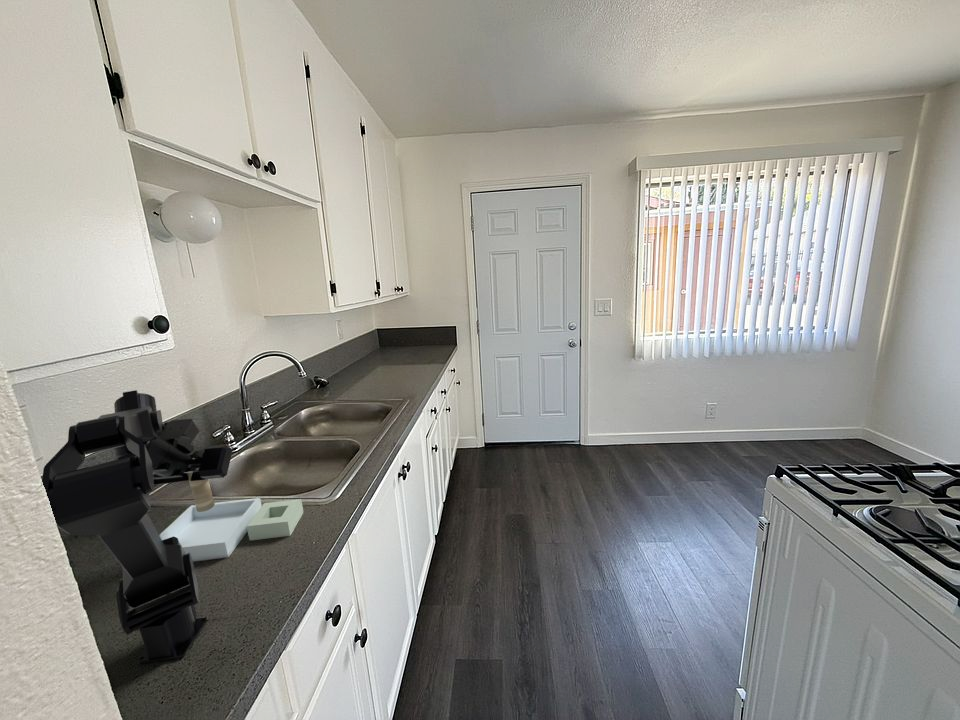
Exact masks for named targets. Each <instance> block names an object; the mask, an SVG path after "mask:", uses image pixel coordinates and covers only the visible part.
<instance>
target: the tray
mask: <svg viewBox="0 0 960 720" xmlns="http://www.w3.org/2000/svg"><path fill="white" fill-rule="evenodd" d="M214 504H215V505H214V507H212V508H211V509H209V510H207V511H203V512H197V510H196V506H195V504H194V505H193V504H191V505H190V506H188V507H187V508H186V510H185V511H183V512H182V513H181V514H179V516H178V517H177V518H176V519H175V520H174V521H173V522H172V523H171V524H169V526H167V527H166V528H165V529H164V530H163V531H162V532H161V533H160V534H159V536H160V538H161V539H162V540H165V539H168V538H170V537H173V536H174V537H176V538H178V540H179V543H180V544H181V545H182V548H183V549H184V551H185V553H186V554H187V553H190V554H191V557H192V560H193V563H194V562H200V561H209V560H216V559H218V560H219V559H227V558H229V557H230V556H231V554H232V553H233V552H234V551H235V550H236V548H237V546H238V545H239V544H240V542H241V541H242V540H243V538H245V536H246V534H248V531H247V525H248V524H249V522H250V521H251V520H252V518H253V517H254V516H255V514H256V513H257V512H258V511H259V509H260V508H261V507H262V505H263V504H262V501H261V498H260V497H257V498H256V497H255V498H249V499H238V500H237V499H236V500H228V501H220V502H214Z"/></svg>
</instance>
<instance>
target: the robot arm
mask: <svg viewBox="0 0 960 720" xmlns="http://www.w3.org/2000/svg"><path fill="white" fill-rule="evenodd" d="M156 403H157V402H156V398H155V396H152V395H151V394H147V393H139V392H138V390H129V391H124V392H122V396H121V397H118V398H117V399H116V400H115V402H114V404H113V406H114V407H113V408H114V412H113V413H105V414H102V415H100V416H98V418H94V419H93V418H92V419H89V420H83V421H79V422H78V423H76V424H73V425H70V426H69V428H68V433H67V434H68V435H67V436H68V437H67V442H66V443H65V444H64V445H63V446H62V447H61V448H60V449H59V450H58V451H57V452H56V454H55V455H54V456H53V457H52V458H51V459H50V460H49V461H48V462H47V463H46V464H45V465H44V467H43V471H42V480H41V483H42V482H43V485H44V487H45V489H46V492H47V496H48V498H49V501H50V505H51V508H52V511H53V514H54V517H55V520H56V523H57V525H56V527H58V528H59V529H60V530H62V531H64V532H65V533H66V534H68V535H71V536H97V537H98V538H99V540H100V541H101V542H102V544H104V546H105V547H106V548H107V550H109V553H111V555H112V556H113V557H114V558H115V560H116V561H117V562H118V564H119V565H120V566H121V567H122V568H121V569H122V570H121V571H122V578H120V579H119V585H118V589H117V590H116V592H115V594H116V595H115V598H116V605H117V611H118V612H117V613H118V618H119V622H120V624H121V629H122V630H123V632H125V634H126V635H127V636H128V635H130V634H132V633H133V632H135V631H138V630H139V633H140V636H141V639H142V642H143V645H144V648H145V649H144V650H143V652H142V653H141V654H140V655H139V657H138V658H137V664H139V665H140V664H146V663H147V664H148V663H153V662H160V661H168V660H174V659H176V660H177V659H181V658H183V657H184V656H185V655H186V654H187V653H188V651H189V650H190V648H191V646H192V645H193V644H194V642H195V641H196V639H197V637H198V636H199V635H200V634H201V632H202V630H203V628H205V626H206V624H207V622H208V617H207V616H206V617H198V614H197V611H196V608H195V605H197V604H199V584H198V580H197V575H196V571H195V565H194V562H193V560H192V557H191V554H190V553H187V554H186V553H185V551H184V549H183V548H182V545H181V544H180V543H179V540H178V538H176V537H174V536H173V537H170V538H168V539H165V540H162V539H161V538H160V536H159V535H160V534H159V532H158V531H157V529H156V527H155V526H154V525H155V524H154V523H153V521H152V520H151V518H150V516H149V514H148V512H149V511H150V510H151V508H152V507H151V506H152V505H151V498H150V493H152V492H154V491H155V486H157V485H164V484H173V483H180V482H189V479H188V475H187V473H188V472H193V473H192V476H191V480H190V481H199V480H205V479H210V480H212V479H213V480H214V479H223V478H225V477H226V476H227V475H228V472H229V467H230V464H231V460H232V455H233V450H234V449H233V448H231V447H230V446H229V445H228V444H217V445H216V444H215V445H208V446H207V447H205V448H204V449H202V450H196V451H194V449H195V446H194V445H192V443H193V442H194V439H195V438H196V436H197V435H198V434H199V433H200V429H199V427H198V426H197V424H196V423H195V422H194V420H193V419H192V418H184V419H174V420H170V421H166V422H164V423H163V416H162V415H163V414H162V411H161V409H157V405H156ZM113 450H114V451H113ZM105 451H113V452H114V458H115V460H111V461H107V462H103V463H98V464H94V465H91V466H87V467H83V468H79V467H80V466H81V465H82V464H83V462H85V460H86V455H91V454H95V453H99V452H105ZM191 453H192V454H191ZM193 458H194V459H193ZM78 468H79V469H78Z"/></svg>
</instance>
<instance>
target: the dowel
mask: <svg viewBox="0 0 960 720" xmlns="http://www.w3.org/2000/svg"><path fill="white" fill-rule="evenodd" d="M193 459H194V458H193ZM192 473H193V472H188V473H187V475H188V479H189V481H188V482H189V486H190V490H191V493H192V497H193V501H194V505H195V506H196V510H197V512H203V511H207V510H209V509H211V508H212V507H214V505H215V504H214V503H215V502H214V501H215V500H214V497H213V496H214V495H213V493H212V488H211V486H210V480H209V479H205V480H199V481H190V480H191V476H192Z"/></svg>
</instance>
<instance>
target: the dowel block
mask: <svg viewBox="0 0 960 720" xmlns="http://www.w3.org/2000/svg"><path fill="white" fill-rule="evenodd" d="M261 505H262V507H261V508H260V509H259V511H258V512H257V513H256V514H255V516H254V517H253V518H252V520H251V521H250V522H249V524H248V525H247V531H248V532H247V536H248V540H249V541H256V540H265V539H275V538H283V537H291V535H292V533H293V532H294V530H295V529H296V527H297V524H298V522H299V521H300V520H301V518H302V516H303V514H304V508H303V502H302V499H301V498H300V499H292V500H291V499H290V500H280V501H272V502H265V503H264V502H263V504H261Z"/></svg>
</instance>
